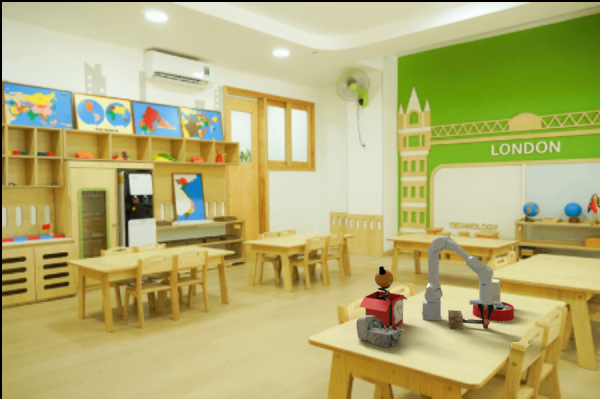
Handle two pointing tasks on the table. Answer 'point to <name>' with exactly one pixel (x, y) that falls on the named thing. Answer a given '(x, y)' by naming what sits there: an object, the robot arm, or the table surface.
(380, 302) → the jack-in-the-box
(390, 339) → the grey lumpy piece
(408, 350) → the table surface
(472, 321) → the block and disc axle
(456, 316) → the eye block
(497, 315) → the toy clock
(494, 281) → the supplement box
